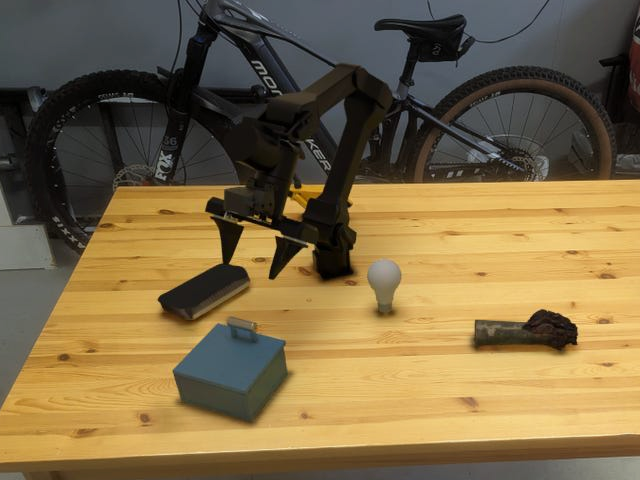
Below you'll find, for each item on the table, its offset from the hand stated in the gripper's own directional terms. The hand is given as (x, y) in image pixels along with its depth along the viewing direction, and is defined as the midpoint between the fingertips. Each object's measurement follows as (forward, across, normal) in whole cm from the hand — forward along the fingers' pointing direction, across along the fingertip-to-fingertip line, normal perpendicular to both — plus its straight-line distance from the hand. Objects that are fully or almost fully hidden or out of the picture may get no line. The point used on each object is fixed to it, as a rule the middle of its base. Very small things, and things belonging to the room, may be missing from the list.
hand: (247, 272), depth 108 cm
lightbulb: (+1, +16, +22) cm, 27 cm away
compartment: (+18, +4, -1) cm, 19 cm away
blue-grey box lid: (+13, +4, -4) cm, 15 cm away
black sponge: (+8, -15, +12) cm, 21 cm away
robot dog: (-12, -14, +39) cm, 43 cm away
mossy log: (-2, +42, +25) cm, 49 cm away
